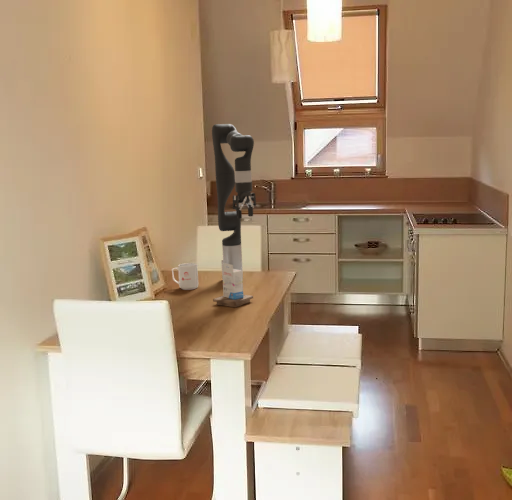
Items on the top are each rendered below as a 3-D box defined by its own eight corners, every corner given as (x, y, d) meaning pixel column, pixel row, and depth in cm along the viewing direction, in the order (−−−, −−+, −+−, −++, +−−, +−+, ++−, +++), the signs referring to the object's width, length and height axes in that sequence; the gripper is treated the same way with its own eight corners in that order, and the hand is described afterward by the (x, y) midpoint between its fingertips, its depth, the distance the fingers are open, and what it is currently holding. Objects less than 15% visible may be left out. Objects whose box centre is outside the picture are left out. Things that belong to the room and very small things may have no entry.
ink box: (244, 298, 282) (242, 263, 280) (234, 300, 279) (232, 265, 277) (232, 294, 289) (231, 260, 286) (222, 296, 286) (221, 262, 284)
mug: (199, 285, 321) (198, 262, 319) (197, 290, 312) (195, 266, 310) (174, 286, 321) (173, 263, 320) (171, 290, 313) (169, 267, 311)
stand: (213, 304, 283) (213, 299, 283) (230, 298, 293) (230, 293, 292) (236, 308, 276) (235, 302, 276) (253, 301, 286) (253, 295, 285)
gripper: (240, 182, 292) (242, 219, 294) (259, 179, 303) (261, 215, 306) (226, 182, 296) (228, 219, 299) (246, 179, 307) (247, 215, 310)
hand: (245, 217), depth 302 cm, fingers open, 8 cm apart
